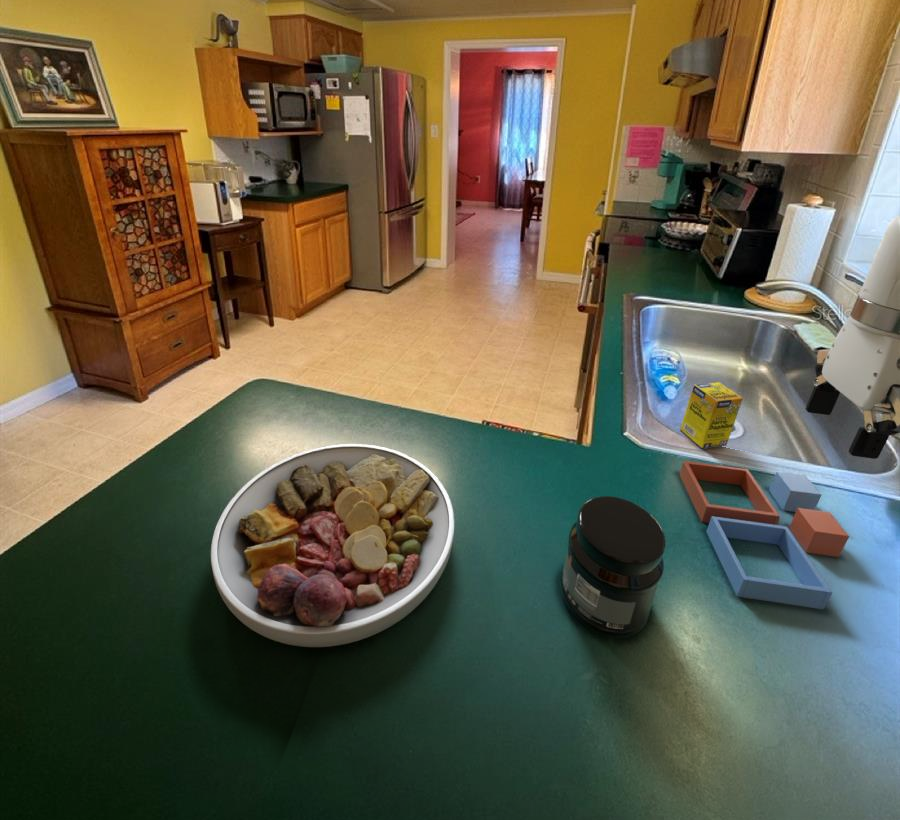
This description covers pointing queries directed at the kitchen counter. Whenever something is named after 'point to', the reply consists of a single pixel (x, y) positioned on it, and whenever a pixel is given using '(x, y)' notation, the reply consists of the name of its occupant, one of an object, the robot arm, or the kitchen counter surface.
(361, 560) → the bowl
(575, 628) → the kitchen counter surface
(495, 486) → the kitchen counter surface
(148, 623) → the kitchen counter surface
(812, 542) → the terracotta block
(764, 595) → the blue bin
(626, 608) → the supplement container
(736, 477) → the terracotta bin
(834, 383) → the robot arm
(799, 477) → the blue block
